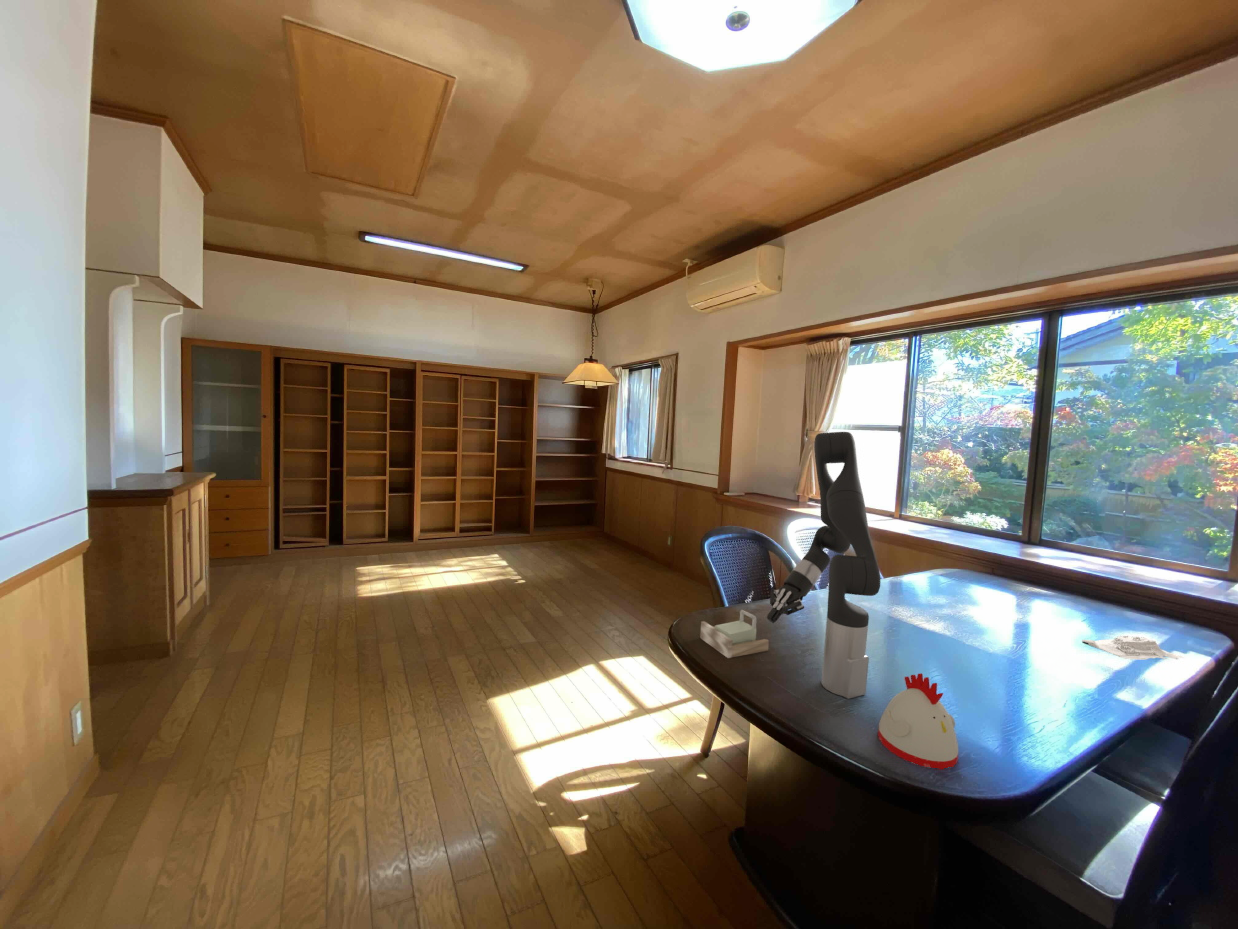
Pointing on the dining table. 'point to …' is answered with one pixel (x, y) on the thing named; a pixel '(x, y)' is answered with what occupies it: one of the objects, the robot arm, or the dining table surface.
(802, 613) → the dining table surface
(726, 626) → the sage trolley
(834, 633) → the robot arm
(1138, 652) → the terrain model
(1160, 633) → the dining table surface
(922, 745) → the kitchen timer
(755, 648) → the birch bay
